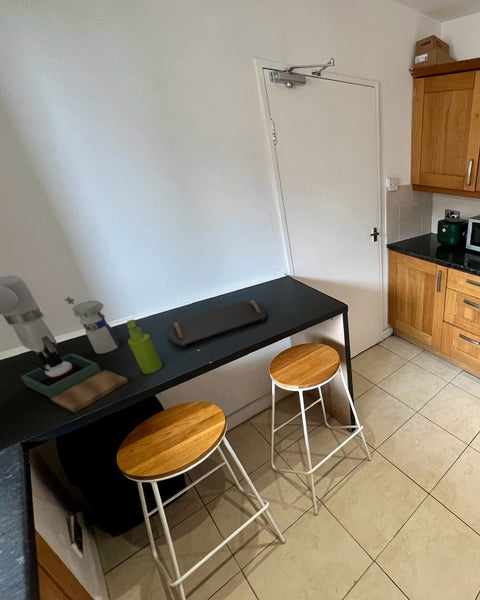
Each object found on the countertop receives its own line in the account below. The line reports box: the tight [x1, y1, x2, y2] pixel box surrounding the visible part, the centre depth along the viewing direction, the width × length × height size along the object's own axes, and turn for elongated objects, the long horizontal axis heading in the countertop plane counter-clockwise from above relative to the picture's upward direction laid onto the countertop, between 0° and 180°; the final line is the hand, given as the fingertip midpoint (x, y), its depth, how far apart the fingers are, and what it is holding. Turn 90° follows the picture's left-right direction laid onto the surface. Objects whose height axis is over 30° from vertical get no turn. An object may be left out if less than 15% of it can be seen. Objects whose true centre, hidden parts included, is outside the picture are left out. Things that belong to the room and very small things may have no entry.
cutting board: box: [50, 369, 129, 414], centre depth 103 cm, size 15×12×2 cm
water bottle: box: [64, 296, 121, 354], centre depth 119 cm, size 8×9×25 cm
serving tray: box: [167, 300, 267, 349], centre depth 139 cm, size 39×23×6 cm, turn 131°
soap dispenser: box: [126, 319, 163, 375], centre depth 109 cm, size 6×7×20 cm
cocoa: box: [25, 357, 79, 383], centre depth 104 cm, size 10×6×12 cm, turn 133°
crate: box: [20, 352, 103, 399], centre depth 107 cm, size 14×16×4 cm
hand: (53, 363), depth 104 cm, fingers closed on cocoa, 3 cm apart
